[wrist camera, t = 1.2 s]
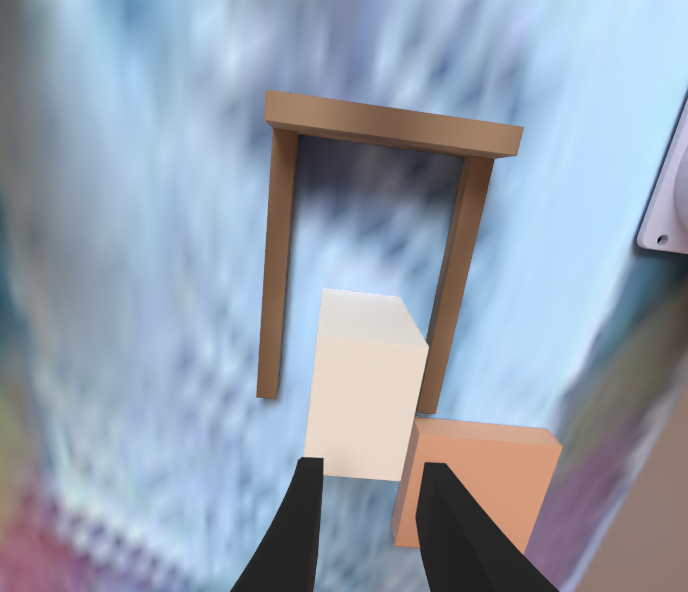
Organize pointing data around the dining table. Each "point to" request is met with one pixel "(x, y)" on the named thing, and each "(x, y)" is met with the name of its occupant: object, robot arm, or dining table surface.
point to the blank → (364, 385)
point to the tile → (480, 472)
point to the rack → (391, 131)
